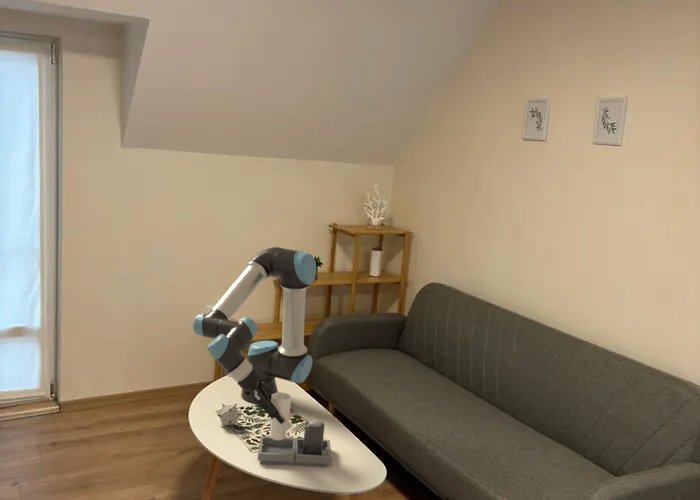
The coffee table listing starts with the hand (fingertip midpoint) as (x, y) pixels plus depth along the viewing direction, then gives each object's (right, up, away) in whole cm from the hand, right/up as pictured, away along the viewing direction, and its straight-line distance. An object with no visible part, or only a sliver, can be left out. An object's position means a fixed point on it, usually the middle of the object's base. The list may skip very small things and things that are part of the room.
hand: (289, 423), depth 221 cm
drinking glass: (-4, -5, +1) cm, 7 cm away
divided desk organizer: (+1, -12, +3) cm, 12 cm away
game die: (-25, -6, +20) cm, 33 cm away
